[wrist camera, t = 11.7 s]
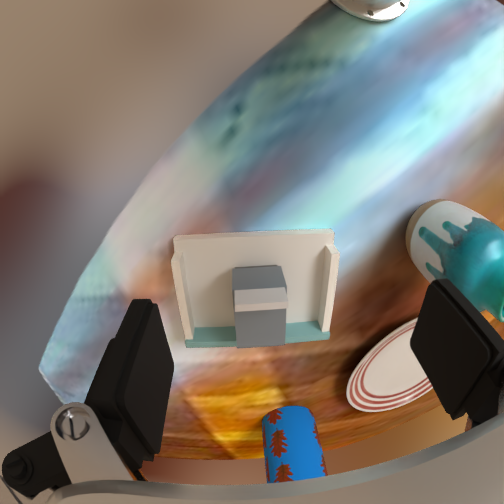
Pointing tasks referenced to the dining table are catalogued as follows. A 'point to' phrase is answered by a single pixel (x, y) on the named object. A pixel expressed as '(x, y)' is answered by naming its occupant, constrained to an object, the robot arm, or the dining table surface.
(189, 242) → the loading dock
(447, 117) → the dining table surface
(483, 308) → the vase
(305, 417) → the thermos
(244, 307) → the lidded gray box
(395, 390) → the dinner plate
